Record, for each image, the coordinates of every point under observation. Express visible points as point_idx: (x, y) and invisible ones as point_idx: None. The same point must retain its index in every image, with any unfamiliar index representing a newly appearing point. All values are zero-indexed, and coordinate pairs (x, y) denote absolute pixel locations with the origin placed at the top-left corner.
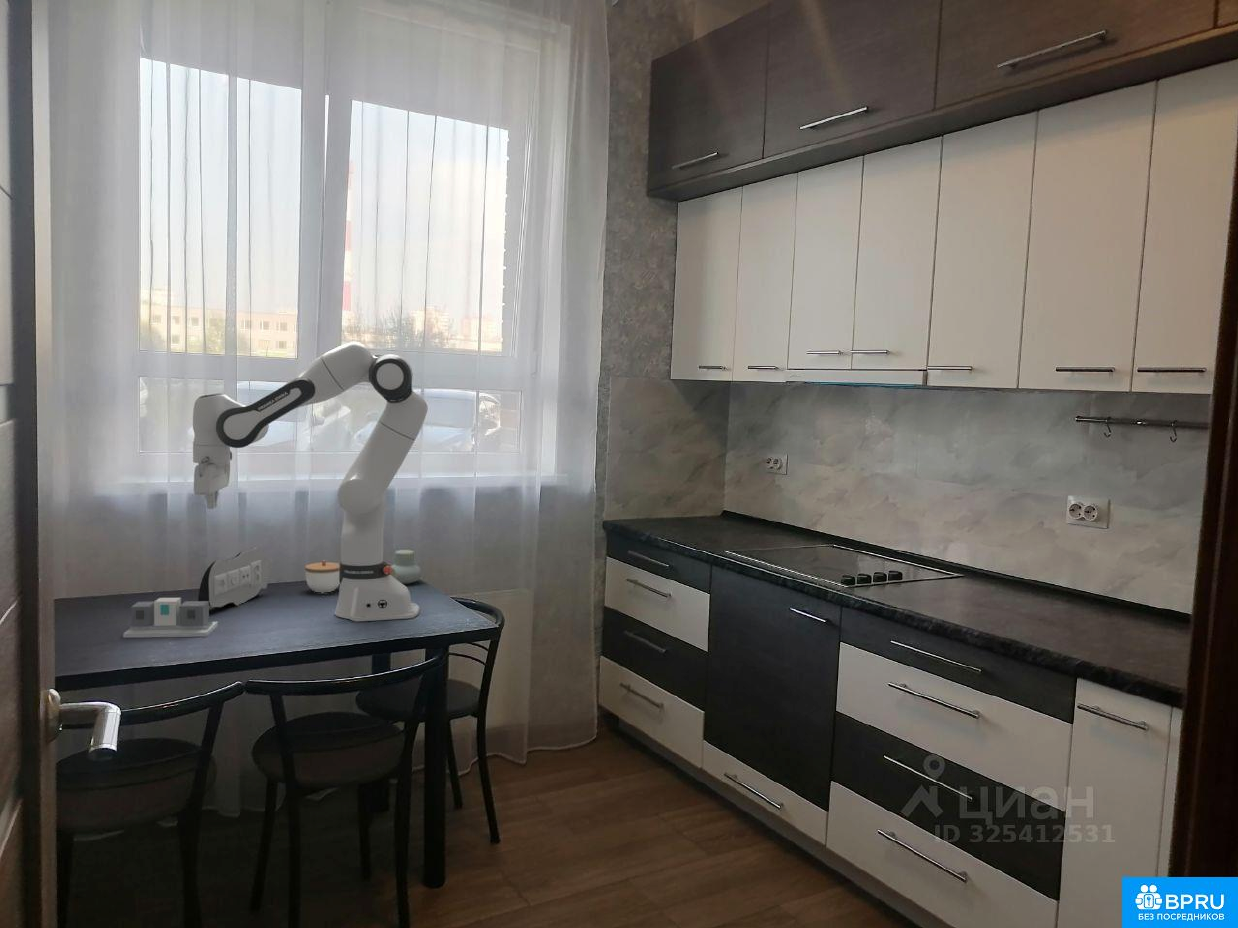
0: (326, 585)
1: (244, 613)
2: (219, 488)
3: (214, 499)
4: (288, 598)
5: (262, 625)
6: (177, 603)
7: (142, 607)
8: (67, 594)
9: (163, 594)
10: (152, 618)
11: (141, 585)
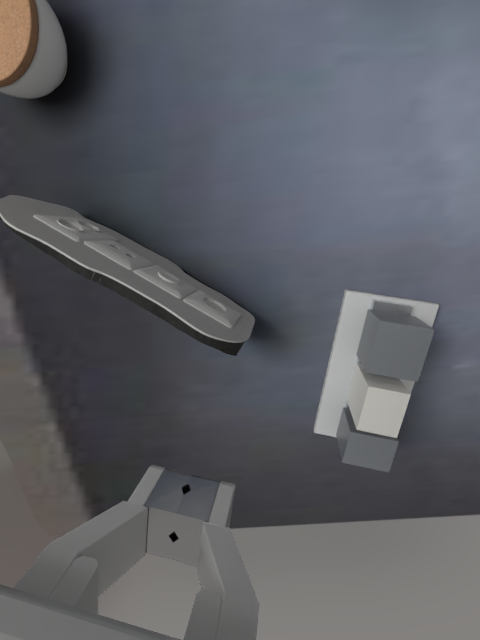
0: (62, 32)
1: (247, 242)
2: (84, 638)
3: (212, 546)
4: (117, 151)
5: (371, 189)
6: (395, 388)
7: (394, 451)
8: None
9: (75, 406)
10: None
11: (10, 444)
